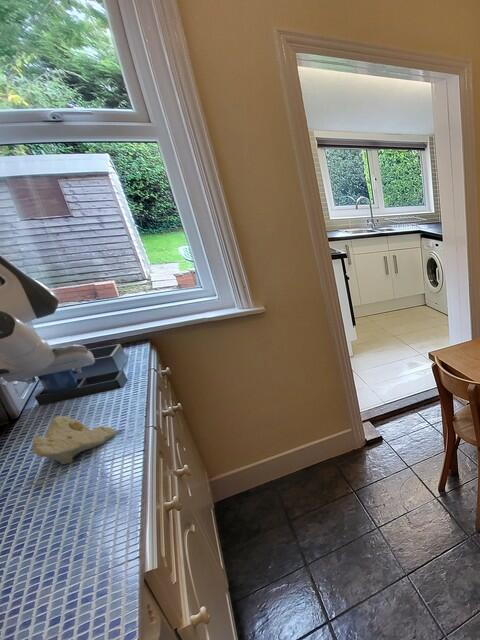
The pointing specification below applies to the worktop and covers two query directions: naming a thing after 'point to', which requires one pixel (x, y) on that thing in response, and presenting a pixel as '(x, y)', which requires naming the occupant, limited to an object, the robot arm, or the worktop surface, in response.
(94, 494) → the worktop surface
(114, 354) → the sink
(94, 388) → the divided tray
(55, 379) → the cup
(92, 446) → the cheese
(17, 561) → the worktop surface
